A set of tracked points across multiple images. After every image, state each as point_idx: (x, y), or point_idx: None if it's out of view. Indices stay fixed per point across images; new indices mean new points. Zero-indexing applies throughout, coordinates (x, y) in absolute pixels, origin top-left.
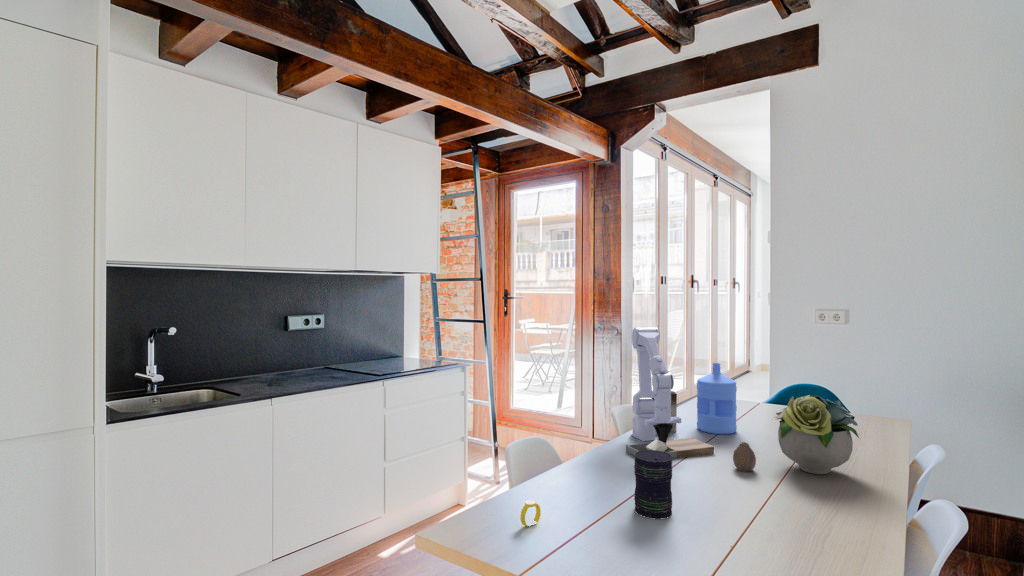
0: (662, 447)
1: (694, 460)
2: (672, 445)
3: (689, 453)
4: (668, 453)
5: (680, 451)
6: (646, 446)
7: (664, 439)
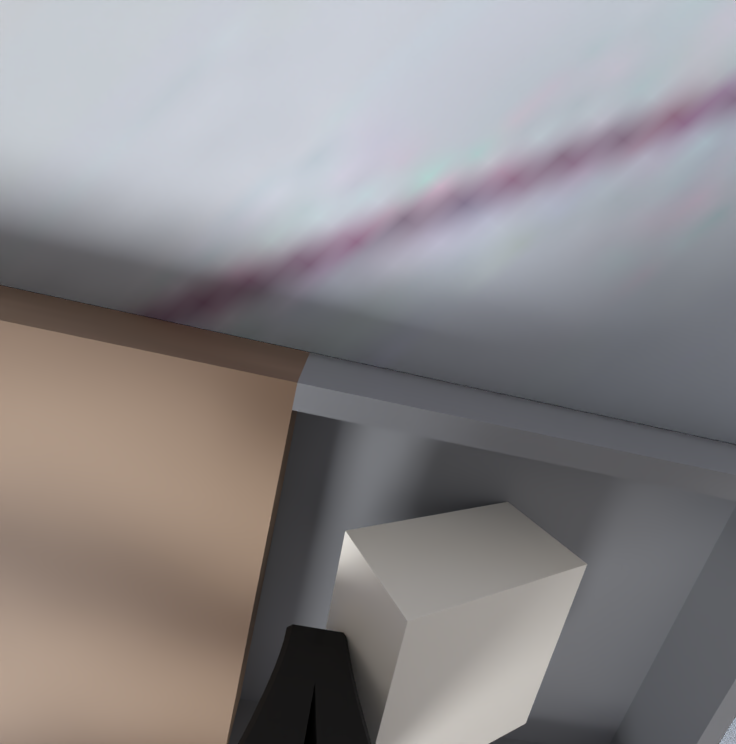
0: (443, 565)
1: (141, 143)
2: (131, 604)
3: (59, 311)
4: (452, 407)
5: (218, 361)
6: (524, 719)
7: (330, 717)
